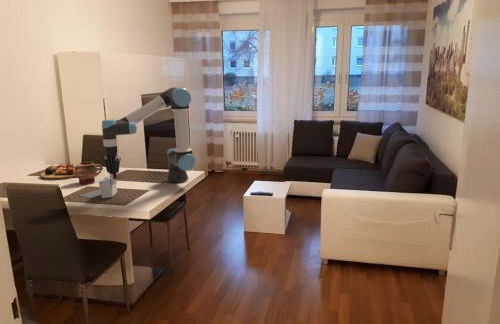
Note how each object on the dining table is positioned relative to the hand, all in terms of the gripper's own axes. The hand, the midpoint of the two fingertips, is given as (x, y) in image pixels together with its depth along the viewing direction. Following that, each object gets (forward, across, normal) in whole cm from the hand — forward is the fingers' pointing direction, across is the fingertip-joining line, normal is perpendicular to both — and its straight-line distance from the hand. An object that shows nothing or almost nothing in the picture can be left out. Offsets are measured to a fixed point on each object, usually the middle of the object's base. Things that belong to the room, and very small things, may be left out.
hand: (113, 184), depth 231 cm
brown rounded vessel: (+8, +42, -17) cm, 46 cm away
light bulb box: (+8, +5, 0) cm, 9 cm away
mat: (+8, +16, 0) cm, 18 cm away
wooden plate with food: (+8, +78, -24) cm, 82 cm away
